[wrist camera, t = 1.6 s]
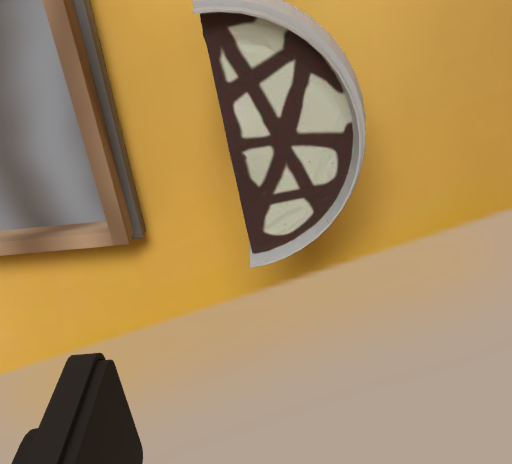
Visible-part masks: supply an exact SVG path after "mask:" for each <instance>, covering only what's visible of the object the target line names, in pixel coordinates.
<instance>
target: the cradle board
mask: <svg viewBox="0 0 512 464" xmlns="http://www.w3.org/2000/svg"><path fill="white" fill-rule="evenodd" d="M144 233H145V226H144V222H143V217H142V213H141V209H140V205H139V201H138V197H137V193H136V189H135V185H134V181H133V177H132V173H131V169H130V165H129V160H128V156H127V152H126V148H125V144H124V140H123V136H122V132H121V128H120V124H119V120H118V116H117V112H116V107H115V103H114V99H113V95H112V91H111V87H110V83H109V79H108V75H107V71H106V67H105V63H104V59H103V54H102V50H101V46H100V42H99V38H98V34H97V30H96V26H95V22H94V18H93V14H92V10H91V6H90V2H89V0H0V256H3V255H15V254H26V253H37V252H48V251H60V250H71V249H82V248H93V247H105V246H116V245H127V244H130V241H131V239H135V238H143V236H144Z"/></svg>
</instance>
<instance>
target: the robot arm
mask: <svg viewBox="0 0 512 464" xmlns="http://www.w3.org/2000/svg"><path fill="white" fill-rule="evenodd" d="M142 462H143V451H142V445H141V442H140V439H139V436H138V433H137V430H136V427H135V424H134V421H133V418H132V415H131V412H130V409H129V406H128V403H127V400H126V397H125V394H124V391H123V388H122V385H121V382H120V379H119V376H118V373H117V370H116V367H115V364H114V362H113V360H105V357H104V355H103V354H101V353H94V354H82V355H71V356H70V357H69V358H68V360H67V362H66V364H65V366H64V369H63V371H62V374H61V376H60V378H59V381H58V383H57V385H56V388H55V390H54V392H53V395H52V397H51V400H50V402H49V404H48V407H47V409H46V412H45V414H44V416H43V418H42V421H41V423H40V426H39V428H36V429H32V430H30V431H29V432H28V433H27V434H26V435H25V437H24V438H23V441H22V442H21V444H20V446H19V448H18V451H17V453H16V455H15V457H14V460H13V462H12V464H142Z"/></svg>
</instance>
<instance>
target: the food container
mask: <svg viewBox="0 0 512 464" xmlns="http://www.w3.org/2000/svg"><path fill="white" fill-rule="evenodd" d="M193 6H194V9H193V14H197V13H201V14H200V18H201V23H202V28H203V36H204V39H205V41H206V44H207V48H208V53H209V57H210V62H211V66H212V71H213V76H214V81H215V85H216V90H217V94H218V99H219V103H220V108H221V112H222V117H223V122H224V127H225V132H226V137H227V142H228V146H229V151H230V156H231V160H232V164H233V168H234V173H235V177H236V181H237V186H238V191H239V196H240V200H241V205H242V209H243V214H244V219H245V223H246V228H247V232H248V236H249V249H250V268H254V267H258V266H263V265H267V264H270V263H273V262H275V261H278V260H281V259H284V258H286V257H288V256H290V255H292V254H293V253H295V252H297V251H299V250H301V249H302V248H304V247H305V246H307V245H308V244H309V243H311V242H312V241H314V240H315V239H316V238H317V237H318V236H319V235H321V234H322V233H323V232H324V231H325V230H326V229H327V228H328V227H329V226H330V225H331V223H332V222H333V221H334V219H335V218H336V217H337V216H338V214H339V213H340V212H341V210H342V209H343V207H344V206H345V204H346V202H347V200H348V198H349V197H350V195H351V193H352V191H353V189H354V187H355V184H356V182H357V179H358V176H359V173H360V171H361V166H362V161H363V156H364V151H365V111H364V104H363V97H362V93H361V90H360V87H359V84H358V81H357V78H356V74H355V72H354V70H353V68H352V66H351V65H350V63H349V61H348V59H347V57H346V55H345V53H344V52H343V51H342V49H341V48H340V47H339V45H338V44H337V43H336V41H335V40H334V39H333V38H332V36H331V35H330V34H329V33H328V32H327V31H326V30H325V29H324V28H323V27H322V26H321V25H319V24H318V23H317V22H316V21H315V20H314V19H313V18H312V17H310V16H309V15H307V14H306V13H304V12H302V11H301V10H299V9H298V8H296V7H295V6H293V5H292V4H290V3H287V2H285V1H283V0H193Z"/></svg>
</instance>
